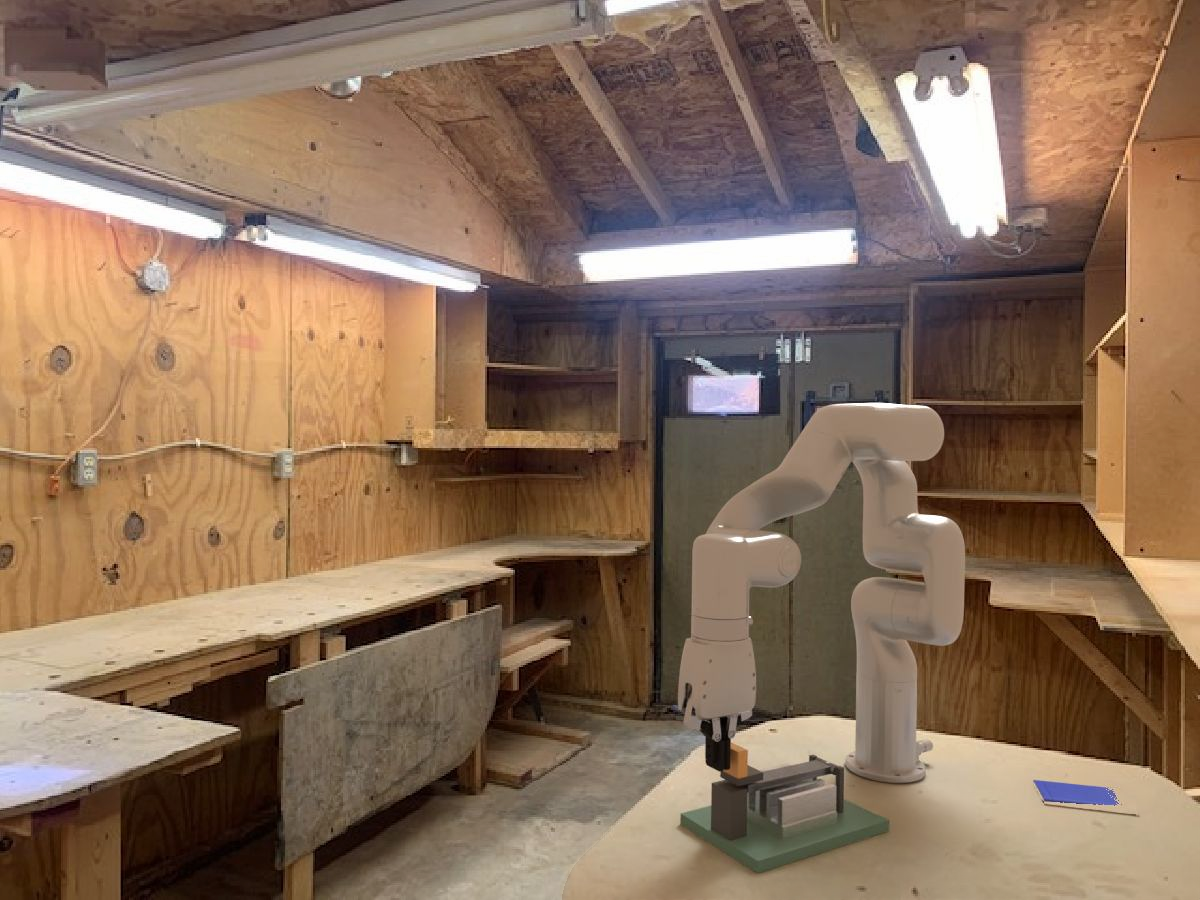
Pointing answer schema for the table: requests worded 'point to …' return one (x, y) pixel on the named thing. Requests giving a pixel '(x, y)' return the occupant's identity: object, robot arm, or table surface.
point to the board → (767, 850)
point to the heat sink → (793, 806)
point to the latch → (740, 768)
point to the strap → (792, 774)
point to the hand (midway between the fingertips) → (717, 767)
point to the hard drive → (1075, 793)
